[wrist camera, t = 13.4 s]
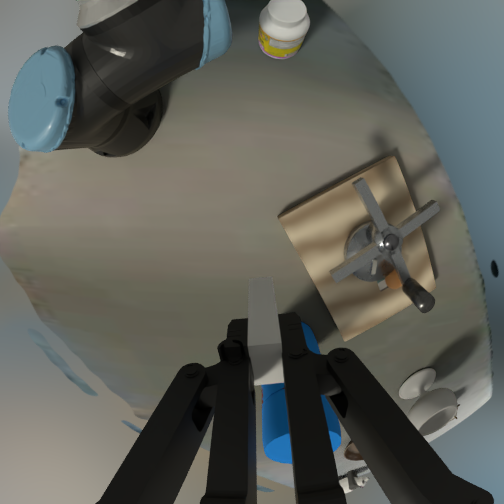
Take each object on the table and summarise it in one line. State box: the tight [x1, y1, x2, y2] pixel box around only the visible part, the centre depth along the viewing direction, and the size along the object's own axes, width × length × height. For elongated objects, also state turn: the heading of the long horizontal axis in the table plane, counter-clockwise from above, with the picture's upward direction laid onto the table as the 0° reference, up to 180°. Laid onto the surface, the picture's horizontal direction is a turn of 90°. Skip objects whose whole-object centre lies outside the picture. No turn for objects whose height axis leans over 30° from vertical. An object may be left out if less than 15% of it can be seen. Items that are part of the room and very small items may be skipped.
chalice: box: [399, 368, 457, 436], centre depth 52 cm, size 14×14×15 cm
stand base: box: [278, 156, 436, 341], centre depth 45 cm, size 28×22×2 cm
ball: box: [385, 269, 402, 289], centre depth 43 cm, size 4×4×4 cm
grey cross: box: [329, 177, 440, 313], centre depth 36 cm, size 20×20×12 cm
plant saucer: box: [344, 441, 364, 461], centre depth 68 cm, size 21×21×3 cm
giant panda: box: [338, 470, 369, 493], centre depth 74 cm, size 15×6×10 cm, turn 137°
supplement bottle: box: [259, 0, 310, 59], centre depth 28 cm, size 7×7×13 cm
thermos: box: [262, 322, 341, 464], centre depth 41 cm, size 11×11×25 cm
